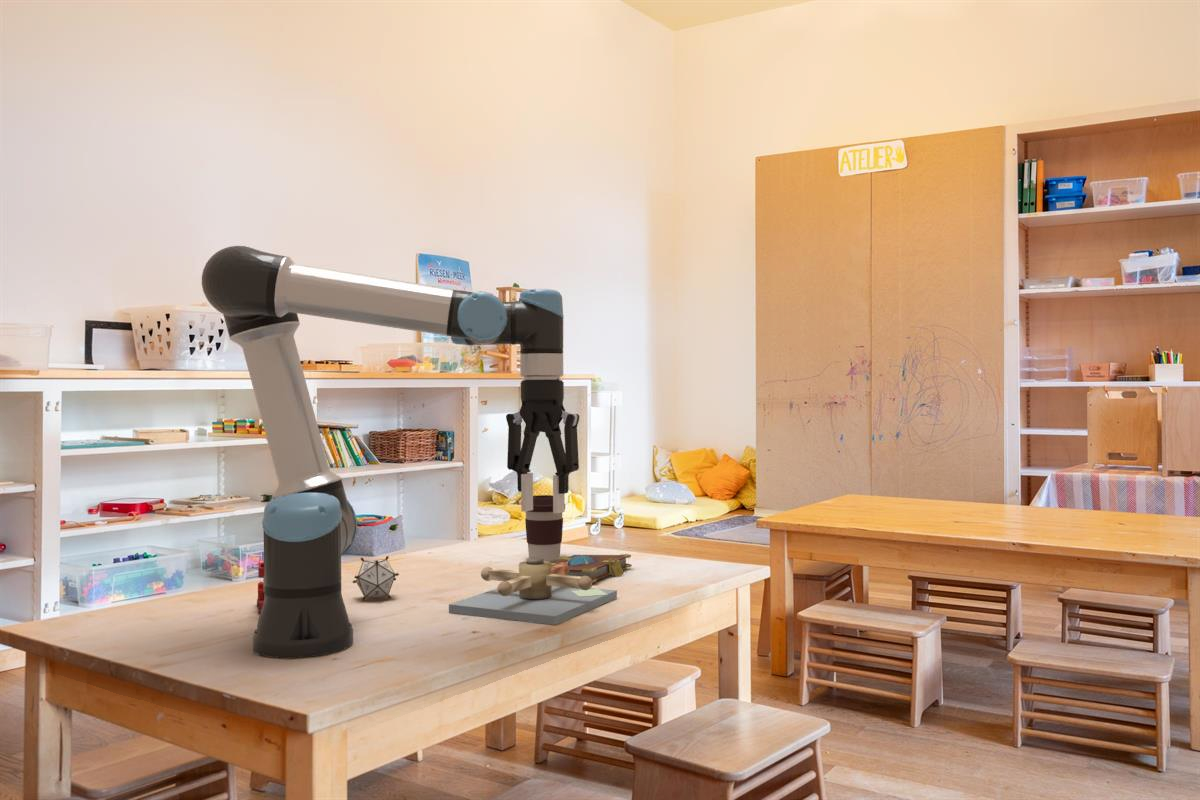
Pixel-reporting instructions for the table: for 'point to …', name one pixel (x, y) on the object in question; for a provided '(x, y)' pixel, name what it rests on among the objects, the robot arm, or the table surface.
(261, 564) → the toy fire truck
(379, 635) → the table surface
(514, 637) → the table surface
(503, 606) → the plate
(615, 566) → the book
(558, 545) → the coffee cup
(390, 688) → the table surface
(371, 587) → the game die
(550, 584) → the capstan
